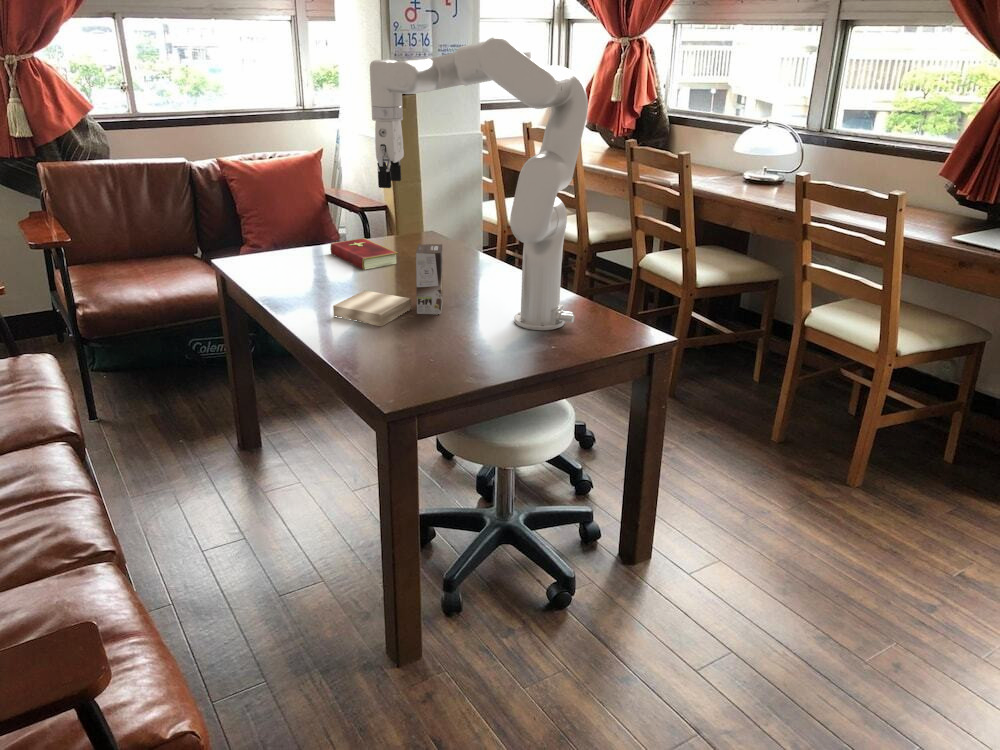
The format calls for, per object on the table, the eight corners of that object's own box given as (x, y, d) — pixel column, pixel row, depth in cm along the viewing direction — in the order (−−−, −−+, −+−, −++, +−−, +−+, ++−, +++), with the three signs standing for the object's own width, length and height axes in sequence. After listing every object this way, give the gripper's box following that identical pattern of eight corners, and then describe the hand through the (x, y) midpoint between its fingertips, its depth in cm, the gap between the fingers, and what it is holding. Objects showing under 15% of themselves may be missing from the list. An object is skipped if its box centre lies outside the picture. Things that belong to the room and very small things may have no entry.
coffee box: (441, 314, 206) (441, 253, 200) (416, 314, 206) (414, 252, 200) (443, 303, 215) (443, 243, 208) (419, 302, 215) (418, 243, 208)
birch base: (410, 309, 210) (410, 298, 208) (381, 326, 198) (381, 314, 197) (365, 301, 215) (364, 290, 214) (333, 317, 203) (333, 305, 202)
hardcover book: (363, 271, 241) (362, 257, 239) (330, 255, 256) (330, 242, 254) (398, 265, 248) (397, 251, 246) (364, 249, 263) (363, 237, 261)
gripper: (393, 118, 191) (396, 191, 198) (410, 110, 207) (412, 178, 213) (362, 117, 192) (366, 190, 199) (381, 109, 207) (384, 177, 214)
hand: (390, 184), depth 206 cm, fingers open, 9 cm apart
